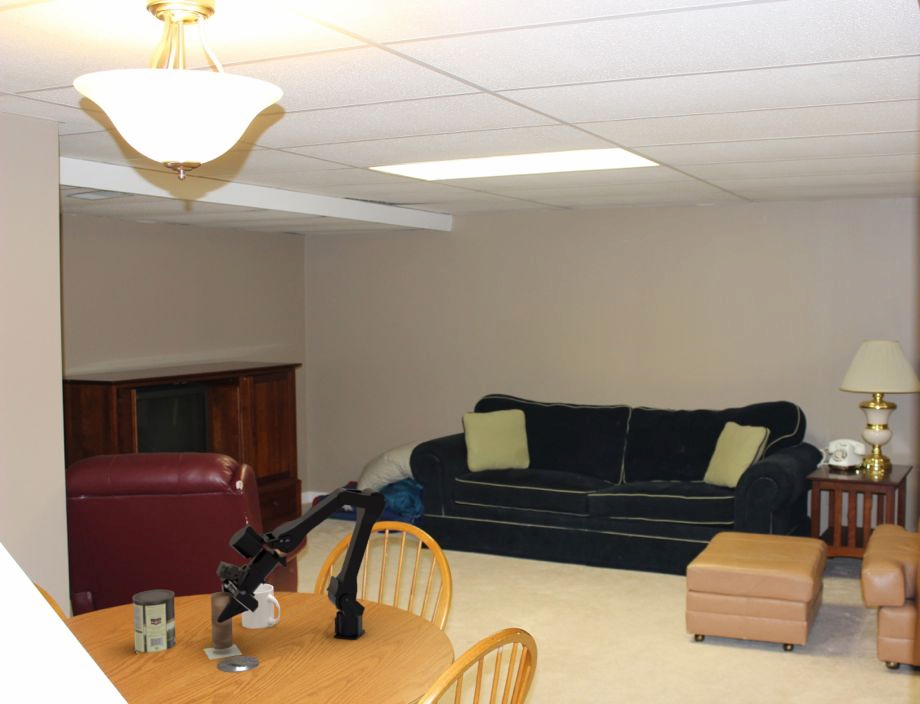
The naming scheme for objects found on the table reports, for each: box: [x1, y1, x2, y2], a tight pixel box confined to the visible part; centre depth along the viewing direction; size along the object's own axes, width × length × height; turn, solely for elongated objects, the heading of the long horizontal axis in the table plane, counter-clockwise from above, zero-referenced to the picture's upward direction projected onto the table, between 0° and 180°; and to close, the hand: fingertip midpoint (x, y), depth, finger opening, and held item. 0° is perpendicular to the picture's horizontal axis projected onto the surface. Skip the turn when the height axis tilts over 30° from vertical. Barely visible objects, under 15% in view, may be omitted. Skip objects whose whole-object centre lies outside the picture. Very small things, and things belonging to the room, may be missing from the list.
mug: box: [241, 583, 281, 630], centre depth 274 cm, size 9×12×11 cm
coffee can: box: [132, 589, 177, 654], centre depth 258 cm, size 10×10×14 cm
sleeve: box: [210, 591, 234, 649], centre depth 253 cm, size 5×5×13 cm
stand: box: [203, 643, 243, 661], centre depth 254 cm, size 8×8×1 cm
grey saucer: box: [216, 655, 260, 674], centre depth 245 cm, size 10×10×1 cm
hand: (216, 618), depth 253 cm, fingers closed on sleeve, 5 cm apart
